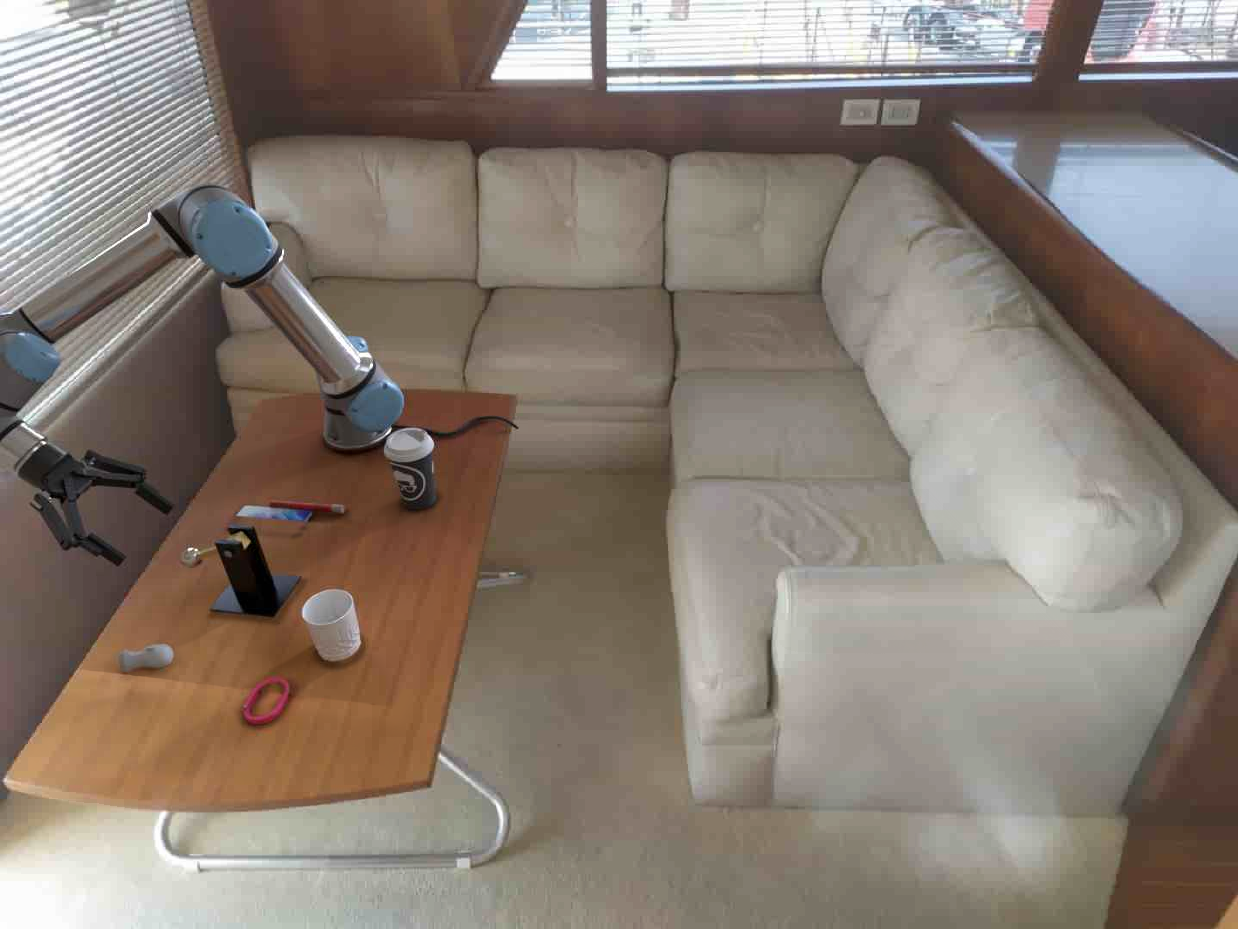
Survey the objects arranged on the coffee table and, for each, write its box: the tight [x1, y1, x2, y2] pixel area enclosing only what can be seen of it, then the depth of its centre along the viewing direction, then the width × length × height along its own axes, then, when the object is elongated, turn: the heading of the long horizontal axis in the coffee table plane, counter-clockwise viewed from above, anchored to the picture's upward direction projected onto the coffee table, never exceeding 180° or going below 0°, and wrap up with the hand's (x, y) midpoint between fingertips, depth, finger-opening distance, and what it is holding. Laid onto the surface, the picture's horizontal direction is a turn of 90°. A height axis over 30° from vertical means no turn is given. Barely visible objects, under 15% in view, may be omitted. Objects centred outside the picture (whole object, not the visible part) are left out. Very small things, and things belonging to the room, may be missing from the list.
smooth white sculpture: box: [118, 643, 175, 674], centre depth 138 cm, size 4×8×5 cm
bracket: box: [209, 523, 302, 618], centre depth 147 cm, size 12×10×15 cm
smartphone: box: [234, 504, 313, 523], centre depth 168 cm, size 7×1×15 cm
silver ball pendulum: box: [180, 531, 251, 569], centre depth 146 cm, size 14×4×4 cm, turn 79°
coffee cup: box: [383, 428, 437, 511], centre depth 169 cm, size 10×10×15 cm
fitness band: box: [242, 677, 292, 725], centre depth 132 cm, size 8×6×2 cm
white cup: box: [301, 588, 362, 662], centre depth 138 cm, size 8×8×10 cm
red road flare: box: [269, 499, 345, 514], centre depth 171 cm, size 2×15×2 cm, turn 82°
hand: (147, 535), depth 146 cm, fingers open, 13 cm apart
